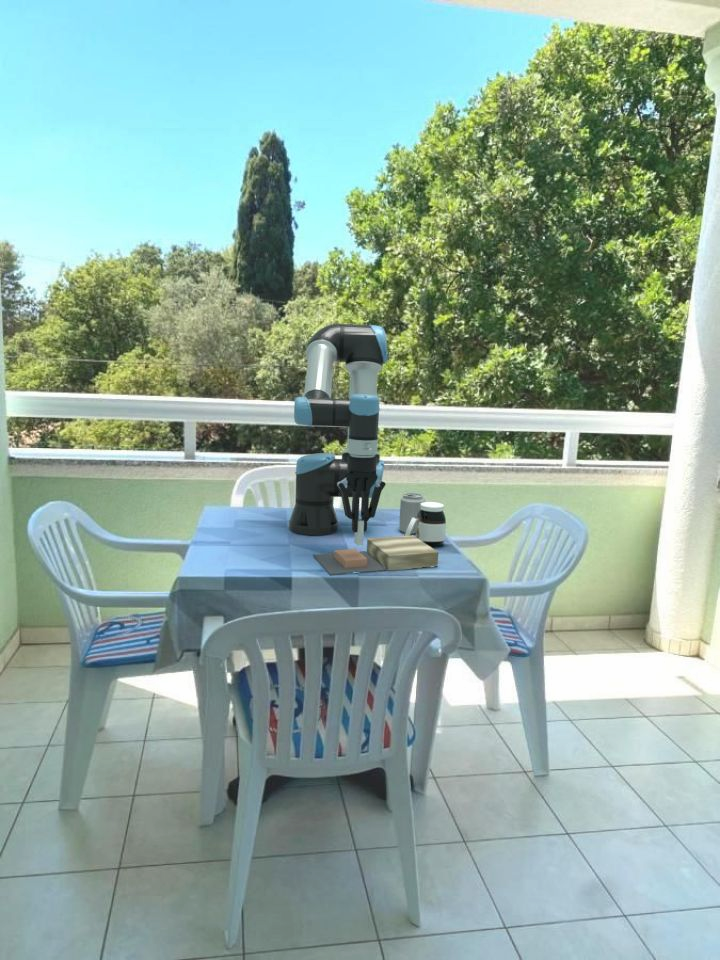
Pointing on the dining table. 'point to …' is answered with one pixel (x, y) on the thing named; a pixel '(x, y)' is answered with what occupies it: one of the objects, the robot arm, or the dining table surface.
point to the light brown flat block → (350, 558)
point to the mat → (336, 568)
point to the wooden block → (401, 552)
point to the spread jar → (429, 524)
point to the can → (409, 510)
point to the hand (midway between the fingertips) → (358, 543)
